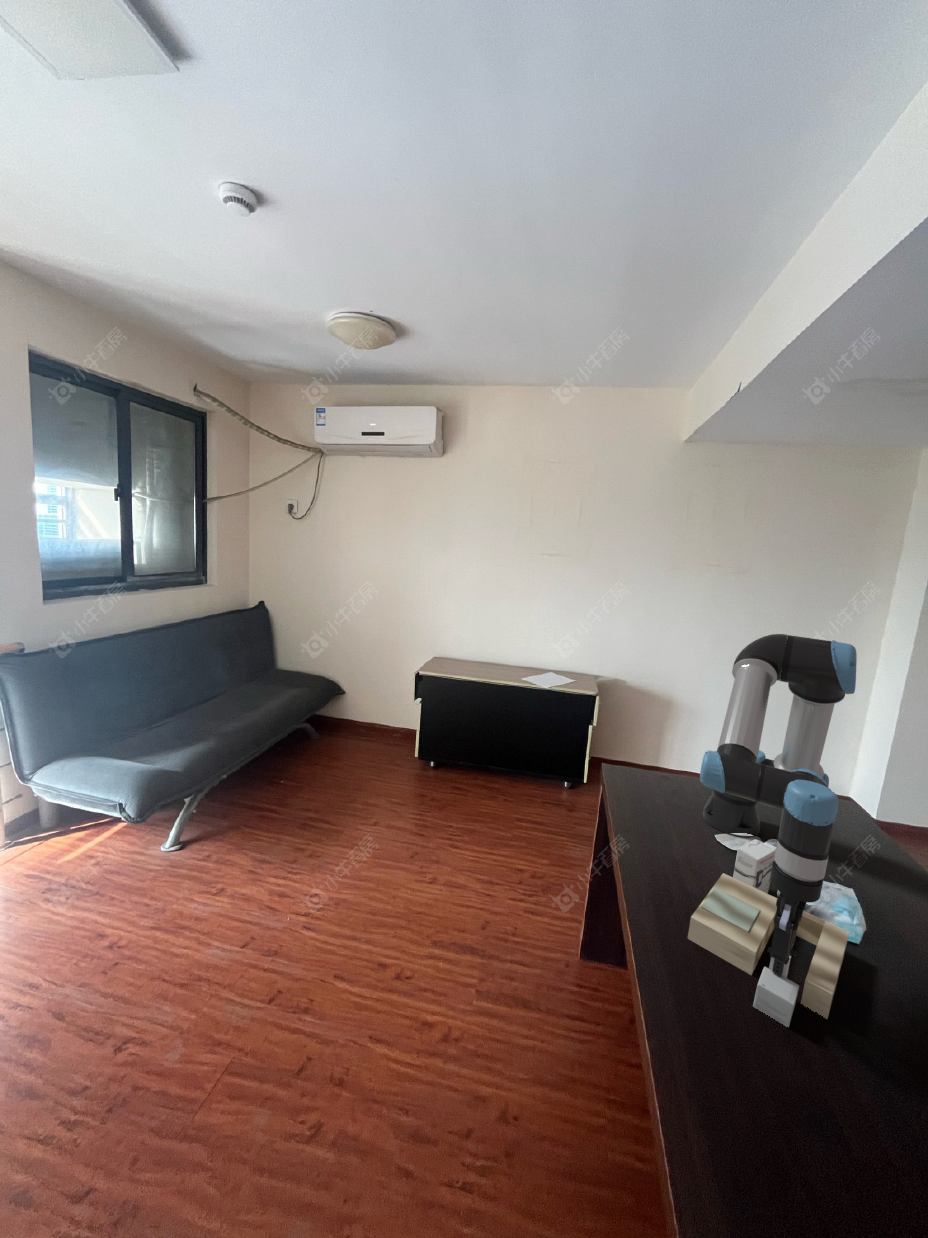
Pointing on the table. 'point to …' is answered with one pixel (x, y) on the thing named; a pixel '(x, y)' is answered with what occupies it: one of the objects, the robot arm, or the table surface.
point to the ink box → (754, 865)
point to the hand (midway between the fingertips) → (775, 985)
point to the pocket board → (766, 936)
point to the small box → (776, 996)
